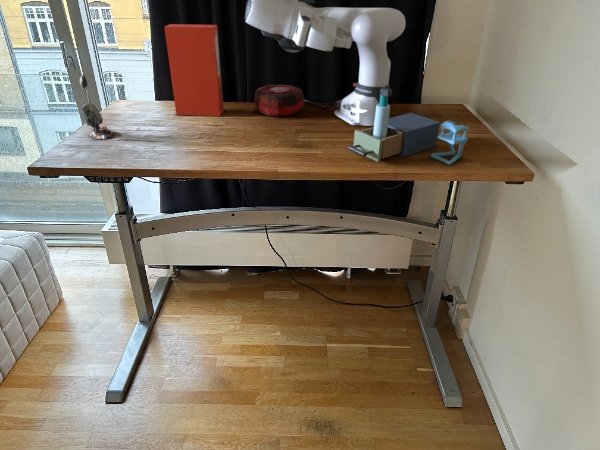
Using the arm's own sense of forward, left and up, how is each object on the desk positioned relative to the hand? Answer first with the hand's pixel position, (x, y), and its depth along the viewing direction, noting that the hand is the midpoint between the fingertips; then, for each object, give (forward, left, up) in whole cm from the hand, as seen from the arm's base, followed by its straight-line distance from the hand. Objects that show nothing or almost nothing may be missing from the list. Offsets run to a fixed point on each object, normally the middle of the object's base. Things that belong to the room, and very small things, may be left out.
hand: (350, 39), depth 120 cm
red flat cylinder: (-50, +10, -35) cm, 62 cm away
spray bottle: (+6, +10, -33) cm, 35 cm away
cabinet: (+6, +23, -34) cm, 42 cm away
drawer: (+6, +10, -34) cm, 36 cm away
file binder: (-65, -18, -35) cm, 76 cm away
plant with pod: (-60, -58, -35) cm, 91 cm away
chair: (+21, +27, -35) cm, 48 cm away
